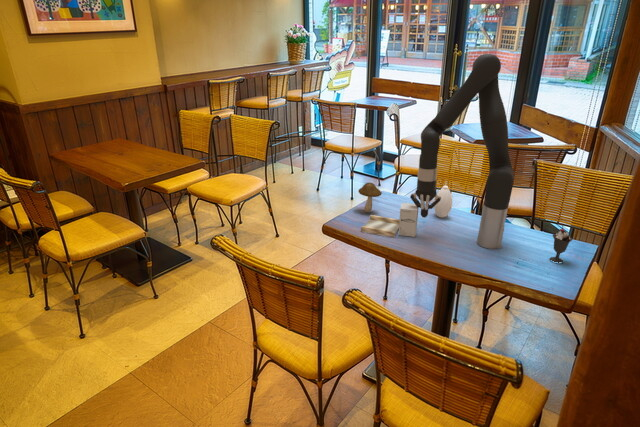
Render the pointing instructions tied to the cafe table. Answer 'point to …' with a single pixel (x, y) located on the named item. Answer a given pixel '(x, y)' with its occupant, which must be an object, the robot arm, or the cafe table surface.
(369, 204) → the mushroom
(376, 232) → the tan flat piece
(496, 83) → the robot arm
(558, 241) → the sundae
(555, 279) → the cafe table surface
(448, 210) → the sauce bottle
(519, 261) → the cafe table surface
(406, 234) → the supplement box
